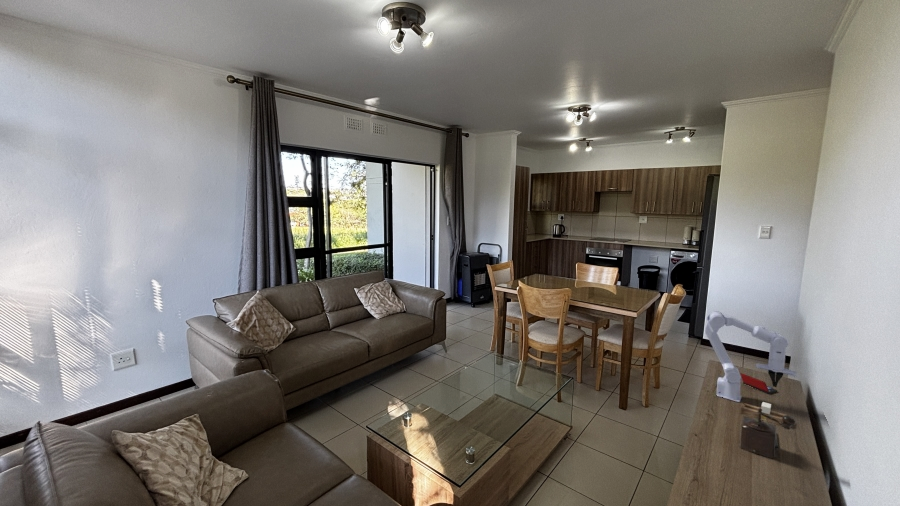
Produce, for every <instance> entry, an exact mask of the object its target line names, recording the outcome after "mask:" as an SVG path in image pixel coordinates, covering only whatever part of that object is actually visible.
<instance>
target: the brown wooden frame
mask: <svg viewBox="0 0 900 506" xmlns="http://www.w3.org/2000/svg"><path fill="white" fill-rule="evenodd" d="M758 408H761V406H756V405H752V404H748V403H745V402H742V404H741V406H740V415H741V414H742V415H744V416H746V417H747V416H748V417H750V418H753V419H758V413H757V412H758ZM763 414H765V415H767V416H770V417H772V418H774V419H777V420H779V421H781V422H782V423H783V420H782V418H783V416H784V415H787V416H790V415H789V414H784V413H781V412H778V411H774V410H771V411H770V415H769V414H766V413H763ZM761 421H763V422H766V423H770V424H773V425H777V426H781V427H782V425H781V424H779V423H778V422H776V421H773V420H771V419H769V418H766V417H764V416H763V415H761Z"/></svg>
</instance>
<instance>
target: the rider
mask: <svg viewBox="0 0 900 506" xmlns="http://www.w3.org/2000/svg"><path fill="white" fill-rule="evenodd" d="M760 408H761V409H762V413H766V414H769V415H770V411H772V410H771V409H772V403H769V402H764V401H762V403H761V406H760Z"/></svg>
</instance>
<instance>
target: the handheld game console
mask: <svg viewBox="0 0 900 506" xmlns="http://www.w3.org/2000/svg"><path fill="white" fill-rule="evenodd" d="M739 373H740V372H739ZM740 375H741V381H742V382H743V383H742V384H743V385H744V384H746V385H749V386H751V387H753V388H752V389H755V388H756V389H755V390H757V389H758V391H759V392H761V391H762V393H764V394H767V395H770V394H775V393H777V392H778V390H777V389H775V388H773V387H769V386H767V383H766V382H765V381H763V380H761V379H758V378H756V377H753V376H750V375H748V374H745V373H742V372H741V373H740ZM746 385H745V386H746ZM749 386H748V387H749ZM751 387H750V388H751Z"/></svg>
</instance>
